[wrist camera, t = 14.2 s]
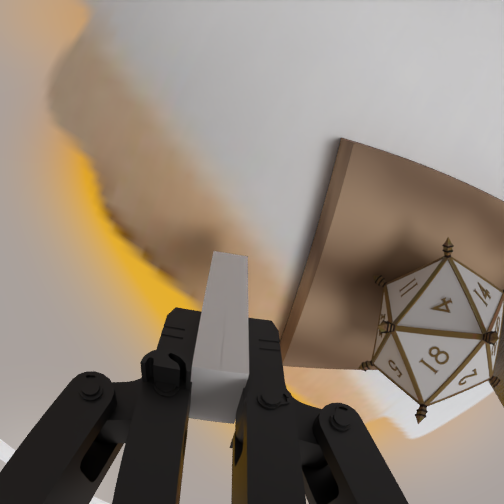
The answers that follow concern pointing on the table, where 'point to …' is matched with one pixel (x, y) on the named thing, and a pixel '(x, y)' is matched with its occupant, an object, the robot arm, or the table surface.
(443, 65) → the table surface
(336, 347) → the shelf plank
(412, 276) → the game die
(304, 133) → the table surface
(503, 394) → the bookend
